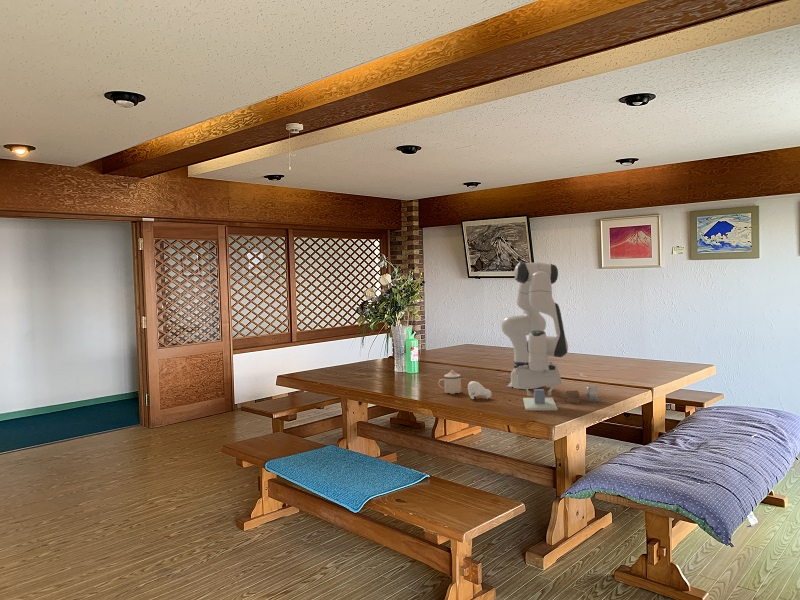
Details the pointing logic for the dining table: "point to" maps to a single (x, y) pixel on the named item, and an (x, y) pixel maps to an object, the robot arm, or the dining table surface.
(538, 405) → the sage board
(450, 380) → the teacup with lid
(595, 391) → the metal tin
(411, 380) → the dining table surface
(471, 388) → the white figurine
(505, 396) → the dining table surface
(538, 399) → the slate blue block
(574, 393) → the walnut block
